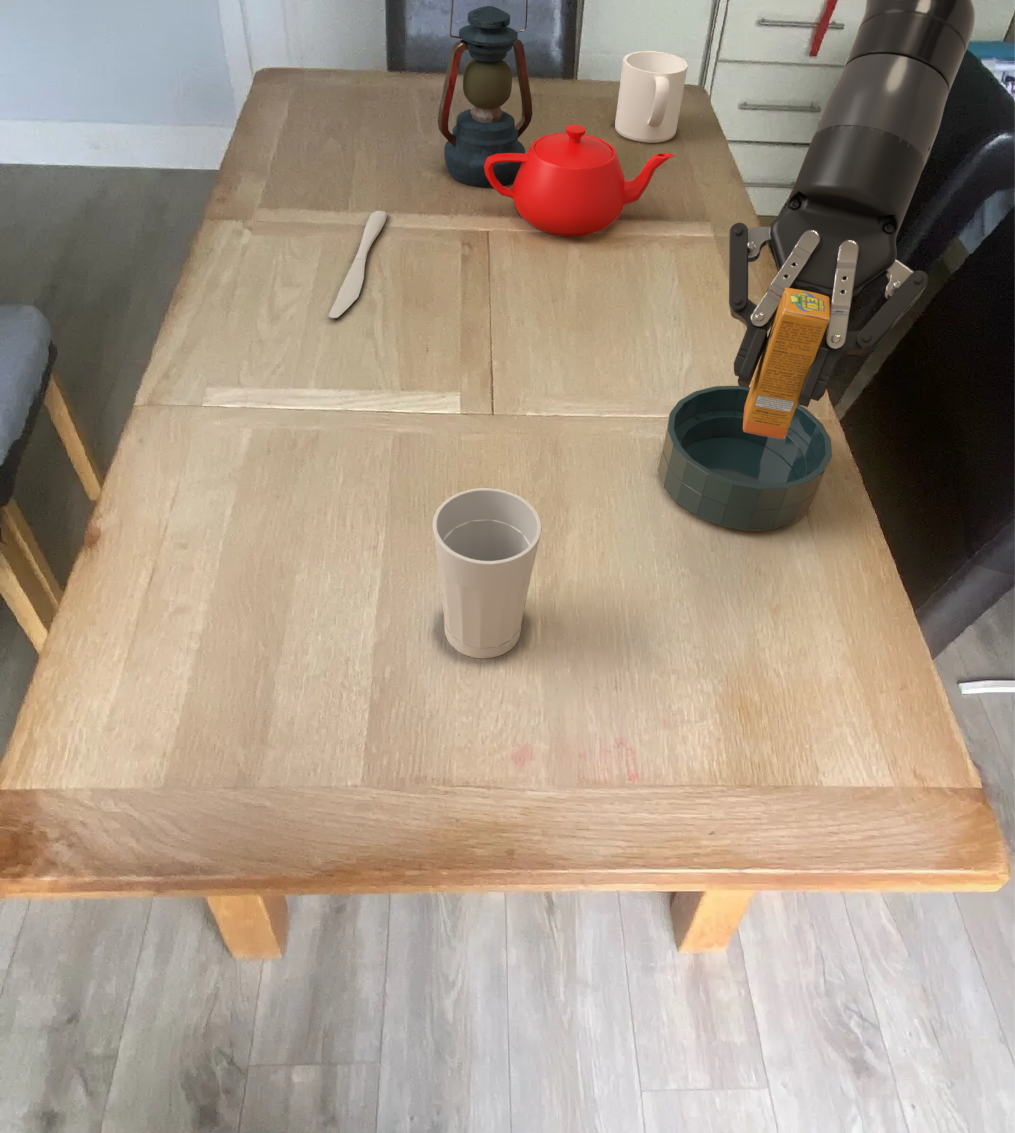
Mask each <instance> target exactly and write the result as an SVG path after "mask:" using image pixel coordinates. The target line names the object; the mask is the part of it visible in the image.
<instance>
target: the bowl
mask: <svg viewBox="0 0 1015 1133" xmlns="http://www.w3.org/2000/svg"><path fill="white" fill-rule="evenodd" d="M750 388H751V386H749V388H745V387H742V386H739V385H716V386H715V385H714V386H710V387H707V388H703V389H698V390H695V391H693V392H691V393H690V394H688V395H686V396H684V397H683V398H681V399H679V401H677V403H676V404H675V406H674V407H673V408H672V409H671V410H670V412H669V414H668V418H667V423H666V427H665V432H664V437H663V441H662V445H661V450H660V454H659V460H658V461H659V462H658V468H657V470H658V474H659V476H660V480H661V482H662V484H663V488H664V489H665V490H666V491H667V493H668V494H669V495H670V496H671V497H672V499H673V500H674V502H676V504H678V505H679V506H681V507H683V509H685V510H687V511H688V512H689V513H691V514H693V515H694V516H695V517H698V518H700V519H702V520H705V521H707V522H709V523H712V524H715V525H717V526H720V527H724V528H729V529H734V530H741V531H747V532H751V531H770V530H771V531H772V530H775V529H778V528H781V527H785V526H788V525H791V524H793V523H795V522H796V521H798V520H799V519H801V518H802V517H804V515H806V514H807V513H809V511H810V509H811V507H812V505H813V504H814V503H813V502H814V501H815V499H816V497H817V495H818V492H819V490H820V487H821V485H822V482H823V479H824V477H825V475H826V474H827V470H828V467H829V466H830V463H831V460H832V457H833V446H832V439H831V436H830V435H829V433H828V431H827V430H826V428H825V425H823V423H822V422H821V421H820V420H819V419H818V418H817V417H816V416H815V415H814V414H813V413H812V412H811V411H810V410H809V409H807V407H805V406H802V405H799V404H797V407H796V409H795V412H794V415H793V418H792V420H791V423H790V426H789V428H788V431H787V434H786V438H785V439H779V438H773V437H767V436H761V435H756V434H751V433H746V432H744V431H743V417H744V407H745V403H746V399H747V396H748V393H749V390H750Z"/></svg>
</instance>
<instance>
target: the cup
mask: <svg viewBox="0 0 1015 1133" xmlns="http://www.w3.org/2000/svg"><path fill="white" fill-rule="evenodd" d="M542 530H543V527H542V520H541V517H540V514H539V512H538V511H537V509H536V508H535V507H534V506H533V504H531V503H530V502H529V501H528V500H526V498H524V497H522V496H520V495H519V494H516V493H514V492H511V491H509V490H505V489H501V488H495V487H479V488H478V487H476V488H471V489H466V490H463V491H460V492H457V493H455V494H453V495H452V496H450V497H448V498H447V499H445V500H444V501H443V502H442V503H441V504H440V505H439V506H438V508H437V509H436V511H435V513H434V516H433V518H432V531H433V538H434V545H435V553H436V561H437V570H438V577H439V584H440V594H441V603H442V612H443V618H444V624H443V626H444V635H445V637H446V640H447V641H448V643H449V645H451V647H452V648H453V649H454V650H456V651H457V652H459V653H460V654H463V655H464V656H468V657H470V658H474V659H475V658H476V659H491V658H495V657H496V658H497V657H499V656H501V655H504V654H506V653H507V652H509V651H510V650H512V649H513V648H514V647H515V646H516V644H517V643H518V642H519V639H520V636H521V633H522V632H521V631H522V622H523V617H524V612H525V607H526V602H527V598H528V592H529V588H530V584H531V577H532V574H533V569H534V565H535V561H536V556H537V553H538V549H539V544H540V540H541V535H542Z"/></svg>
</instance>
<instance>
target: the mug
mask: <svg viewBox="0 0 1015 1133" xmlns="http://www.w3.org/2000/svg"><path fill="white" fill-rule="evenodd" d="M688 67H689V65H688V62H687V61H686V60H685V59H684V58H682V57H680V56H678V55H676V54H672V53H669V52H663V51H655V50H639V51H634V52H630V53H627V54H626V55H624V57H623V58H622V67H621V75H620V82H619V90H618V97H617V105H616V113H615V121H614V130H615V131H616V132H617V134H619V135H620V136H621V137H623V138H625V139H627V140H630V141H634V142H639V143H647V144H658V143H662V142H667V141H670V140H672V139H673V138H674V137H675V135H676V133H677V129H678V124H679V118H680V112H681V107H682V101H683V96H684V89H685V83H686V79H687V73H688Z"/></svg>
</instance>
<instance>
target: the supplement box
mask: <svg viewBox="0 0 1015 1133" xmlns="http://www.w3.org/2000/svg"><path fill="white" fill-rule="evenodd" d="M829 320H830V298H829V297H828V296H825V295H821V294H818V293H814V292H809V291H804V290H798V289H793V288H785V291H784V293H783V295H782V298H781V301H780V303H779V306H778V309H777V312H776V315H775V318H774V320H773V323H772V326H771V327H770V329H769V331H768V334H767V340H766V344H765V346H764V350H763V352H762V355H761V357H760V360H759V362H758V365H757V368H756V370H755V373H754V375H753V378H752V381H751V384H750V387H751V388H750V390H749V393H748V396H747V399H746V403H745V407H744V417H743V431H744V432H746V433H751V434H756V435H761V436H767V437H773V438H779V439H785V438H786V434H787V431H788V428H789V426H790V423H791V420H792V418H793V415H794V412H795V409H796V407H797V404H798V400H799V397H800V394H801V392H802V389H803V387H804V384H805V381H806V379H807V376H808V374H809V371H810V369H811V366H812V364H813V362H814V359H815V357H816V354H817V351H818V348H819V346H820V347H821V343H822V340H823V338H824V335H825V332H826V331H827V325H828V323H829Z"/></svg>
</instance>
